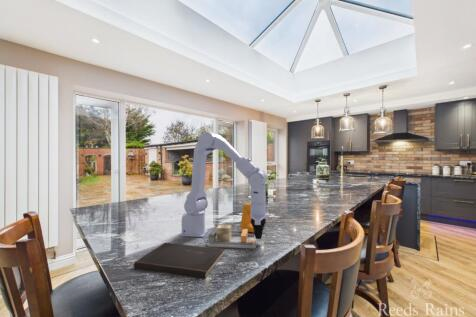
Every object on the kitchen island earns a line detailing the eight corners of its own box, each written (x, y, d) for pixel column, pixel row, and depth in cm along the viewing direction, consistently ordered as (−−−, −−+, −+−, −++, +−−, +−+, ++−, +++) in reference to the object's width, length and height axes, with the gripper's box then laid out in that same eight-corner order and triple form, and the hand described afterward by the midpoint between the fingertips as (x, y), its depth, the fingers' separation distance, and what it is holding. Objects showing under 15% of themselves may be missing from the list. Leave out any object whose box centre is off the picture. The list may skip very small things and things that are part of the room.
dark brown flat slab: (164, 248, 82) (164, 242, 82) (224, 255, 76) (224, 248, 76) (133, 270, 66) (133, 262, 66) (205, 281, 60) (205, 272, 60)
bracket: (255, 234, 95) (255, 206, 95) (240, 232, 98) (240, 204, 98) (264, 227, 104) (264, 201, 104) (250, 225, 108) (250, 200, 107)
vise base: (206, 246, 82) (206, 235, 82) (213, 236, 92) (212, 227, 92) (255, 248, 80) (255, 237, 80) (256, 238, 90) (256, 228, 90)
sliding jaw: (240, 243, 82) (240, 235, 82) (242, 235, 90) (242, 228, 90) (246, 243, 81) (246, 236, 81) (247, 236, 89) (247, 229, 89)
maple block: (216, 241, 85) (216, 227, 85) (218, 237, 89) (218, 224, 89) (229, 241, 84) (229, 228, 84) (231, 237, 88) (231, 225, 88)
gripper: (269, 207, 77) (269, 246, 77) (268, 199, 91) (268, 232, 92) (248, 206, 78) (249, 245, 78) (251, 198, 92) (251, 231, 92)
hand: (258, 238), depth 85 cm, fingers closed
